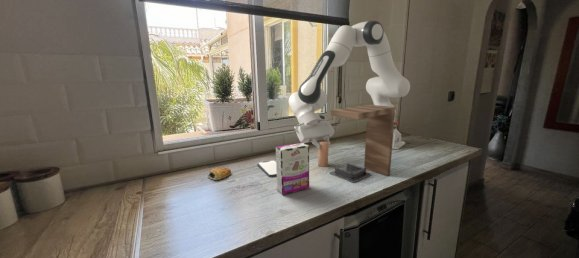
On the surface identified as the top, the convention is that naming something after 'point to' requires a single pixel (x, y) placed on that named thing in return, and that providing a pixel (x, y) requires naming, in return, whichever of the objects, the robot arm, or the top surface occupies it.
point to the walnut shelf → (374, 134)
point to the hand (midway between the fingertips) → (324, 146)
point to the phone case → (268, 168)
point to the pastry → (219, 173)
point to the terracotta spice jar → (323, 154)
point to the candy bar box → (292, 168)
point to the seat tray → (350, 173)
